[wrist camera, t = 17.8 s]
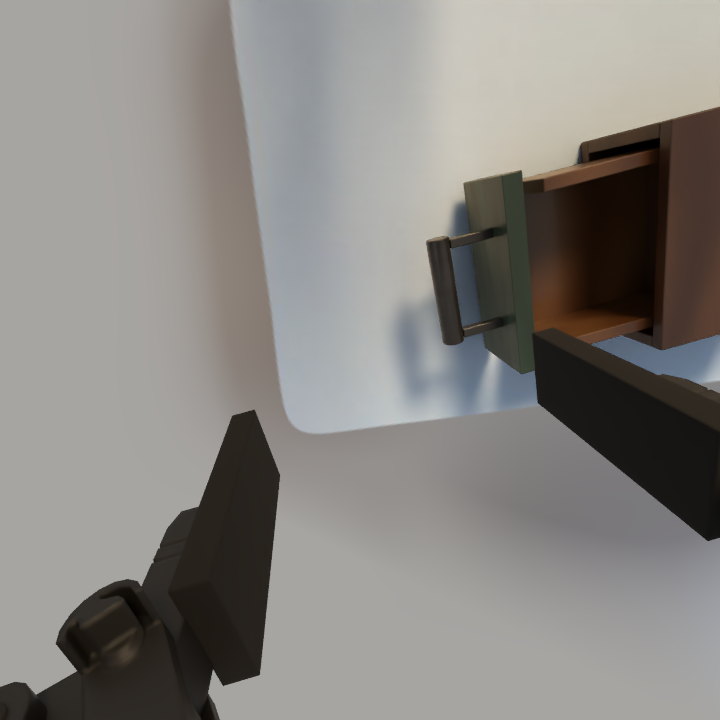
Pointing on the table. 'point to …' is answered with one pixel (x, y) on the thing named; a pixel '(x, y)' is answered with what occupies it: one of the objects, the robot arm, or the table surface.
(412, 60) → the table surface
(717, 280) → the cabinet
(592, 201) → the drawer
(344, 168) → the table surface
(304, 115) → the table surface
